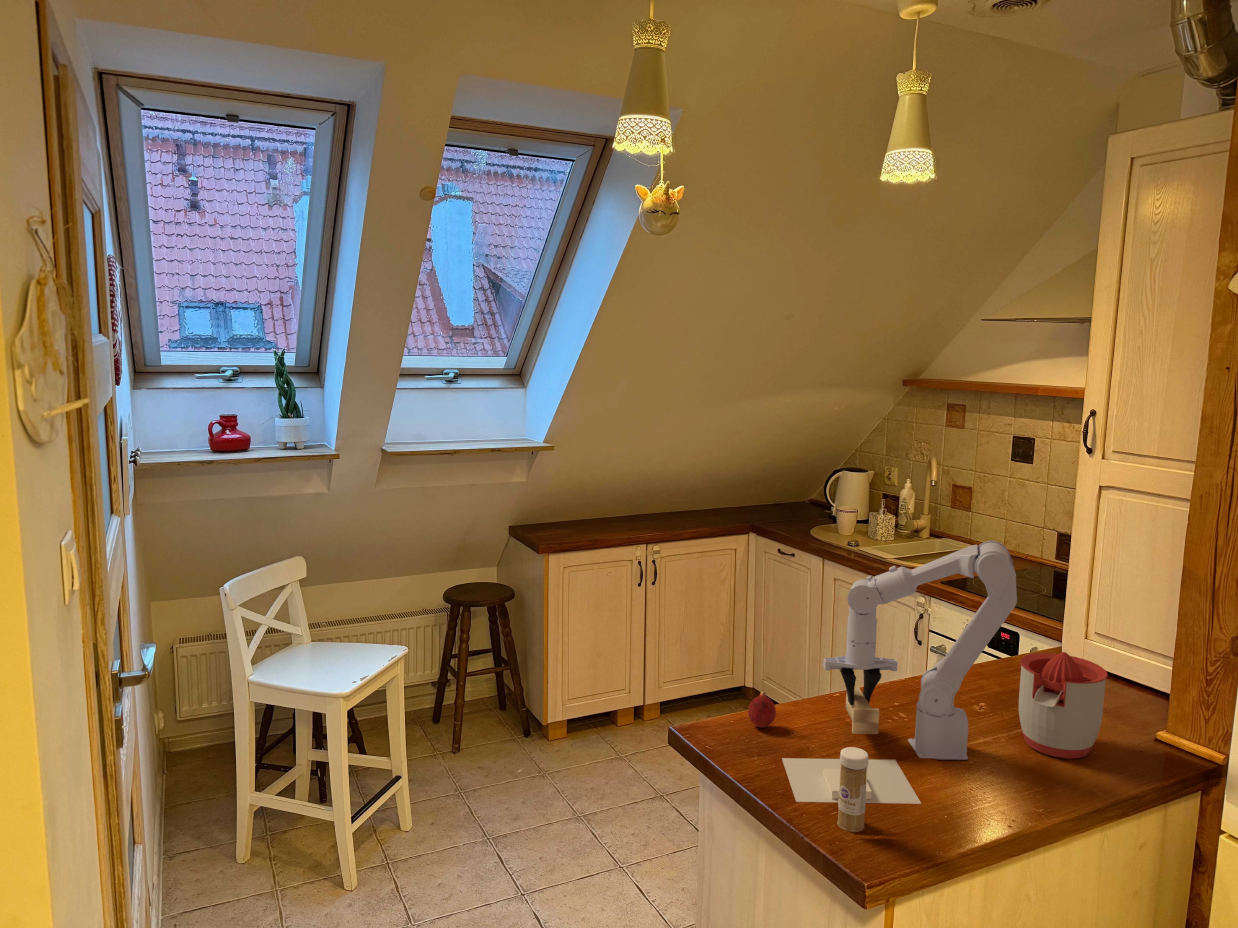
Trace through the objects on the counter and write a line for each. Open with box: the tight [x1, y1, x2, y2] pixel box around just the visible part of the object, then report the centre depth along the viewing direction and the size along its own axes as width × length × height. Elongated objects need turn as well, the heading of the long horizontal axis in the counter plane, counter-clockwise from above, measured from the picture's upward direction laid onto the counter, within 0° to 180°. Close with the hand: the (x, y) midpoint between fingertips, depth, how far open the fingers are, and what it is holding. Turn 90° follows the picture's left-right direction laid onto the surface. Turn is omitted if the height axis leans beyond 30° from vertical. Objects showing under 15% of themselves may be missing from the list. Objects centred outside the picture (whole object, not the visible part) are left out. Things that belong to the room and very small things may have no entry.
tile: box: [823, 769, 872, 799], centre depth 159 cm, size 7×2×8 cm
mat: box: [781, 757, 922, 805], centre depth 162 cm, size 22×16×1 cm
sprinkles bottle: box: [836, 746, 869, 833], centre depth 147 cm, size 5×5×13 cm
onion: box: [747, 691, 777, 729], centre depth 184 cm, size 6×6×8 cm
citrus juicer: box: [1018, 651, 1109, 760], centre depth 175 cm, size 16×17×20 cm
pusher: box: [845, 685, 880, 735], centre depth 179 cm, size 5×12×5 cm, turn 179°
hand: (858, 702), depth 179 cm, fingers closed on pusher, 2 cm apart
